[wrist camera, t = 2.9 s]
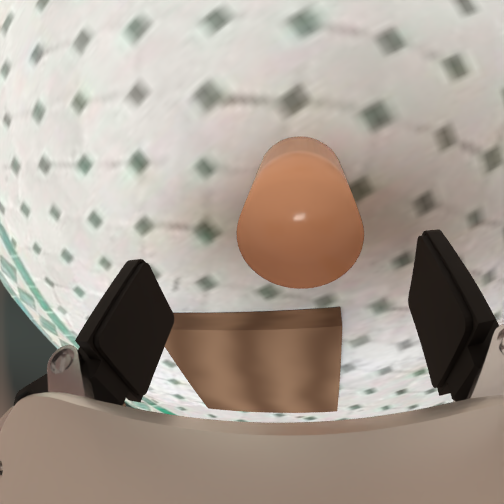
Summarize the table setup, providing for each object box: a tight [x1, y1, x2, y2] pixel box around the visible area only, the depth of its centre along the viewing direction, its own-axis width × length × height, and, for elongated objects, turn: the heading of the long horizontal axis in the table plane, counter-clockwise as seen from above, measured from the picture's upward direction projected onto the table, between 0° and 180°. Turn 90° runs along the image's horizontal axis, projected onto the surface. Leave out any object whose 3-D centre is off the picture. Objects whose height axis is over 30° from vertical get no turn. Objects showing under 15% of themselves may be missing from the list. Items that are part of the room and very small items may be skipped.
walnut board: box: [165, 307, 342, 413], centre depth 28 cm, size 16×16×2 cm
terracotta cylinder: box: [237, 137, 364, 289], centre depth 14 cm, size 5×5×7 cm
